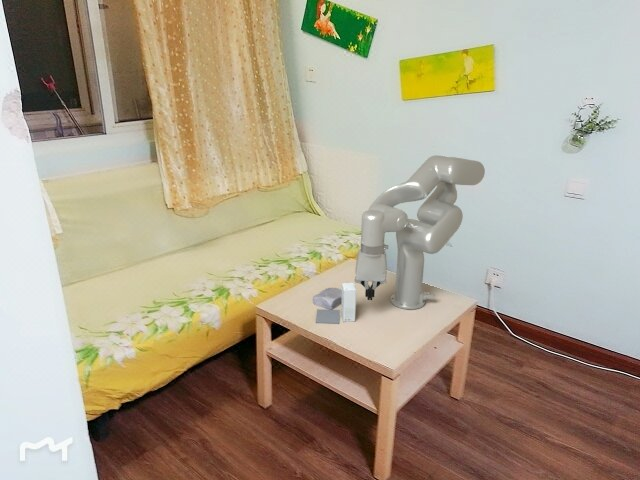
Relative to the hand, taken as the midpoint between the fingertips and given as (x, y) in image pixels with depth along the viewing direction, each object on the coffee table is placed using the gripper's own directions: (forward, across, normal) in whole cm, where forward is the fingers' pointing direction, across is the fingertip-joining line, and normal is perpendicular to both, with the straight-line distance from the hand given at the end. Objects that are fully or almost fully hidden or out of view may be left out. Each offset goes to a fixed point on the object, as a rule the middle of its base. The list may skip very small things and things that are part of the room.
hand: (369, 298), depth 158 cm
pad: (+8, +14, 0) cm, 16 cm away
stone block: (+8, +14, -12) cm, 20 cm away
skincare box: (+8, +7, 0) cm, 11 cm away
